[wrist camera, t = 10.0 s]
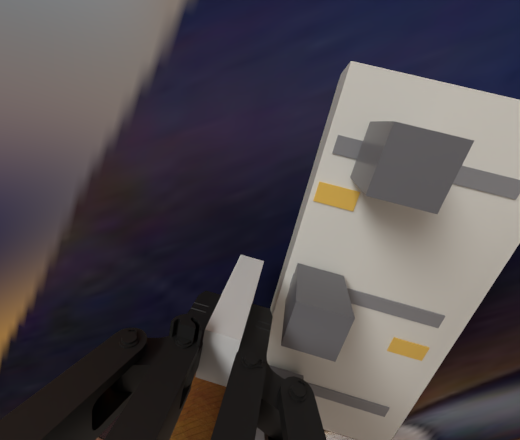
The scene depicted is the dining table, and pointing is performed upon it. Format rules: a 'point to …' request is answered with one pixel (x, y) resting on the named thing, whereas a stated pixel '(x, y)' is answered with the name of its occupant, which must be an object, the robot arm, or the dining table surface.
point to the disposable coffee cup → (199, 411)
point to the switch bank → (400, 246)
